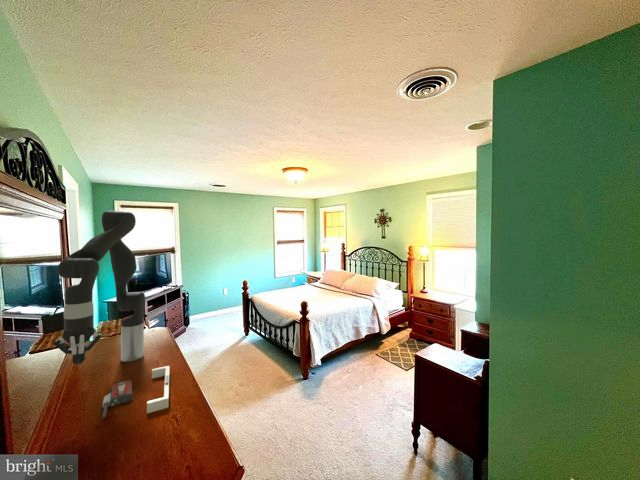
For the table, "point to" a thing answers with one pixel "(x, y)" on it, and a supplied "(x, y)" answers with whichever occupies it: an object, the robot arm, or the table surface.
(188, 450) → the table surface
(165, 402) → the white c-shaped bracket
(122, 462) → the table surface
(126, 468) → the table surface
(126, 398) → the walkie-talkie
